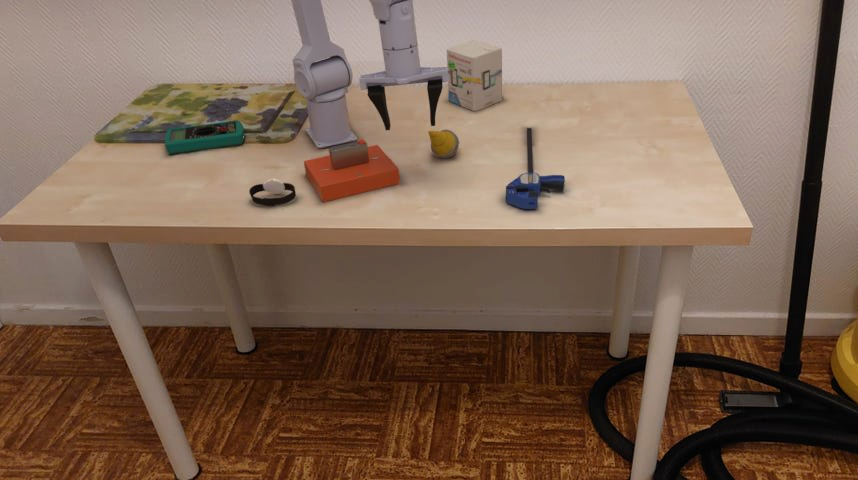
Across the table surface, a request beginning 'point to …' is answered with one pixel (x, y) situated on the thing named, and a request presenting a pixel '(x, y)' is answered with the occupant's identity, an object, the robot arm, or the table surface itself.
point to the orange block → (351, 175)
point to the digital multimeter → (204, 137)
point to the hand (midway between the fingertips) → (410, 126)
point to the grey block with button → (349, 154)
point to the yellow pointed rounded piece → (443, 143)
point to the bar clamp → (531, 183)
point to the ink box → (474, 75)
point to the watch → (273, 192)
